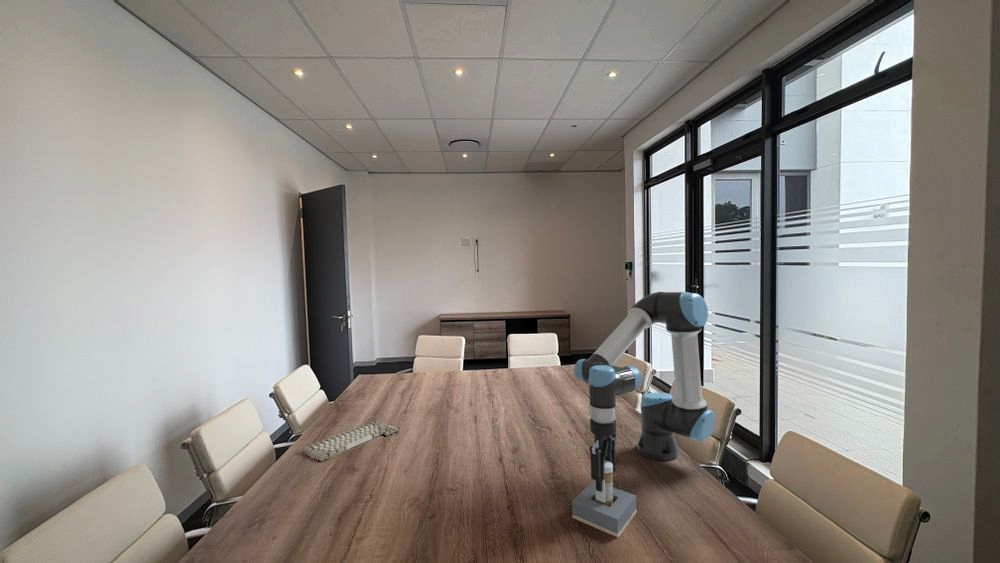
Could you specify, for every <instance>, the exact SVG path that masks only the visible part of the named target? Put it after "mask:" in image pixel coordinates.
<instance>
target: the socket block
mask: <svg viewBox="0 0 1000 563" xmlns="http://www.w3.org/2000/svg"><path fill="white" fill-rule="evenodd" d="M571 508H572V509H571V512H572V519H575V520H577V521H579V522H581V523H584V524H586V525H588V526H591V527H593V528H595V529H598V530H600V531H602V532H604V533H607V534H609V535H612V536H613V537H616V538H619V537H620V536H621V534H622V533H623V531H624V530H625V529H626V527H627V526H628V525H629V523H630V522H631V520H632V519H633V518H634V516H635V515H636V513H637V495H635V494H632V493H630V492H627V491H624V490H622V489H618V488H616V487H613V504H612V506H611V507H608V506H606V505H603V504H600V503H598V500H596V487H595V480H591V482H590V483H589V484H588V485H586V487H585V488H583V489H582V491H581V492H580V493H579V494H577V496H576V497H575V498H573V499H572V500H571Z"/></svg>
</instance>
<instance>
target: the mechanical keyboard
mask: <svg viewBox="0 0 1000 563" xmlns="http://www.w3.org/2000/svg"><path fill="white" fill-rule="evenodd" d="M398 431H399V429H398V427H395V426H393V425H391V424H390V425H389V424H388V423H384V422H382V421H380V420H378V419H375V420H374V421H371V422H369V423H365V424H363V425H360V426H358V427H356V428H352V429H349V430H346V431H344V432H341V433H339V434H336V435H333V436H331V437H328V438H326V439H322V440H321V442H320V441H317V442H315V443H313V444H310V445H307V446H304V448H303V452H304V451H305V452H306V453H309V454H310V455H312V456H313V457H315V458H316V459H315V460H317V459H318V460H320V461H319V462H322V461H321V460H324V459H326V458H328V457H331V456H333V455H336V454H337V453H340V452H343V451H345V450H348V449H350V448H353V447H355V446H358V445H360V444H362V443H365V442H367V441H370V440H372V439H374V438H377V437H379V436H384V437H387V436H389V435H392V434H394V433H397V432H398ZM397 434H398V433H397ZM392 436H393V435H392Z"/></svg>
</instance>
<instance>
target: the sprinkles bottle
mask: <svg viewBox="0 0 1000 563" xmlns="http://www.w3.org/2000/svg"><path fill="white" fill-rule="evenodd" d="M613 467H614V466H613V464H612V463H611V462H609V461H606V460H605V465H604V478H603V479H605V501H606V502H605V503H604V502H601V501H599V500H598V503H600V504H603V505H606V506H608V507H611V506H612V504H613V488H614V487H613V486H614V483H613V482H614V480H612V472H614V471H613Z"/></svg>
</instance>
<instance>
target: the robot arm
mask: <svg viewBox="0 0 1000 563" xmlns="http://www.w3.org/2000/svg"><path fill="white" fill-rule="evenodd" d="M708 318H709V309H708V305H707V302H706V301H705V299H704V298H703V296H701V294H699V293H694V292H693V293H692V292H687V291H686V292H684V291H676V292H674V291H667V292H666V291H665V292H664V291H657V292H653V293H650V294H647V295H646V296H644V297H643V298H641V299H640V300H638V301H636V303H635V304H633V306H631V307H630V309H629V310H627V316H626V317H625V318H624V319H623V320H622V321H621V322H620V323H619V325H618V326H617V327H616V328H615V329H614V330H613V332H611V333H610V335H609V336H608V337H607V338H606V339H605V341H603V343H602V344H601V345H600V346H599V347H598V348H597V349H596V350H595V352H593V353H592V355H591V356H590V357H589V358H588V359H587V358H581V359H578V360H577V361H576V363H575V365H574V367H573V373H574V375H575V378H577V380H579V381H581V382H584V383H586V384H588V387H589V388H588V389H589V390H588V392H589V395H588V396H589V405H588V408H589V417H590V419H589V430H590V432H591V433H592V434H593V435H594V440H593V441H594V442H593V443H594V444H593V445H590V446H589V452H590V478H591V480H592V481H595V487H596V500H599V501H601V502H604V503H605V502H606V501H605V479H603V478H604V465H605V460H606V461H609V462H611V463H612V464H613V472H616V469H617V467H616V464H617V462H616V461H617V455H616V440H617V434H616V433H617V406H616V405H617V404H616V397H617V396H620V395H623V394H627V393H632V392H634V391H636V390H637V389H639V388H640V387H641V386H642V384H643V376H642V373H641V371H640V370H639V369H638V368H637V367H635V366H632V365H628V366H627V365H625V366H623V367H622V366H615V364H616V363H617V361H619V359H620V358H621V357H622V356H623V354H624V353H625V352H626V351H627V350H628V349H629V348H630V346H631V345H632V344H633V343H634V342H635V340H636V339H637V338H638V337H639V336H640V335H641V333H642V332H643V331H644V330H646V329H649V328H650V327H651V326H652V325H654V324H656V323H657V324H658V323H662V324H665V329H666V331H667V332H668V333H669V334H670V336H671V347H672V348H671V350H672V359H673V361H672V363H673V373H674V384H675V385H674V386H675V397H673V395H672V394H670V393H667V392H649V393H645V394H644V395H642V397H641V402H640V409H641V412H640V413H641V414H640V416H641V432H640V435H639V437H638V441H637V446H636V447H637V452H638V453H639V454H641V455H642V456H644V457H645V458H648V459H651V460H656V461H673V460H676V459H677V458H678V457H679V447H678V445H677V442H676V439H675V436H674V434H676V435H679V436H682V437H685V438H687V439H690V440H692V441H693V440H694V441H697V442H701V443H702V442H705V441H707V440H708V439H709V438H710V437H711V436H712V434H713V432H714V429H715V425H716V414H715V412H714V411H713V410H711V409H709V408H708V401H706V399H704V398H703V394H702V393H703V392H702V391H703V390H702V380H701V366H700V365H701V364H700V353H699V336H698V334H699V333H700V332H701V331H702V330H703V328H702V327H703V326H705V325H706V324H707V322H708ZM613 472H612V480H613ZM613 481H614V480H613Z"/></svg>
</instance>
